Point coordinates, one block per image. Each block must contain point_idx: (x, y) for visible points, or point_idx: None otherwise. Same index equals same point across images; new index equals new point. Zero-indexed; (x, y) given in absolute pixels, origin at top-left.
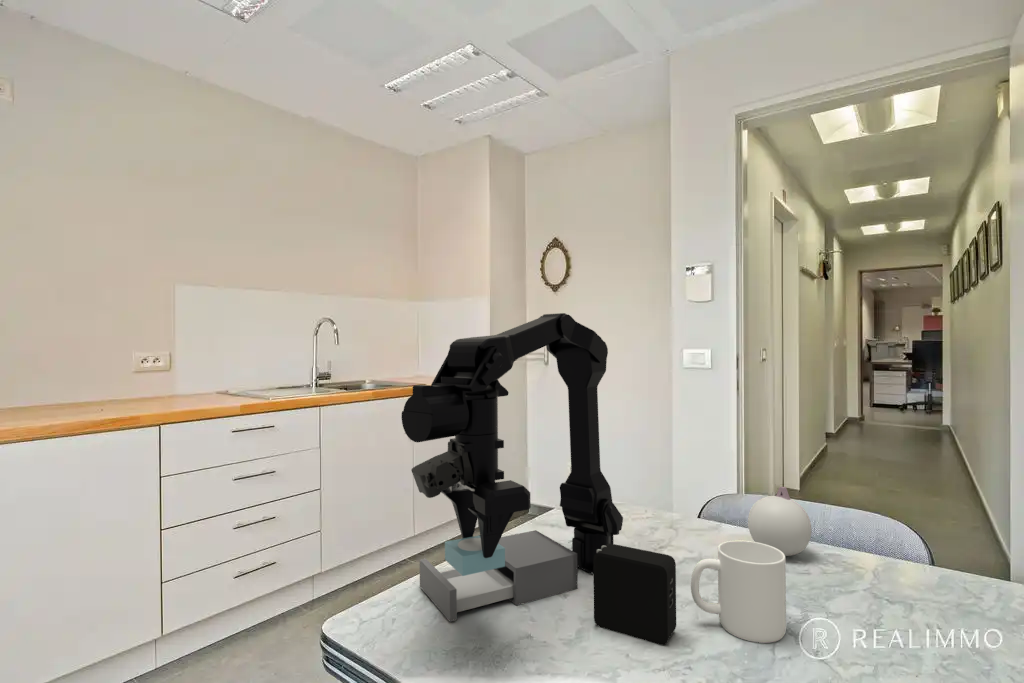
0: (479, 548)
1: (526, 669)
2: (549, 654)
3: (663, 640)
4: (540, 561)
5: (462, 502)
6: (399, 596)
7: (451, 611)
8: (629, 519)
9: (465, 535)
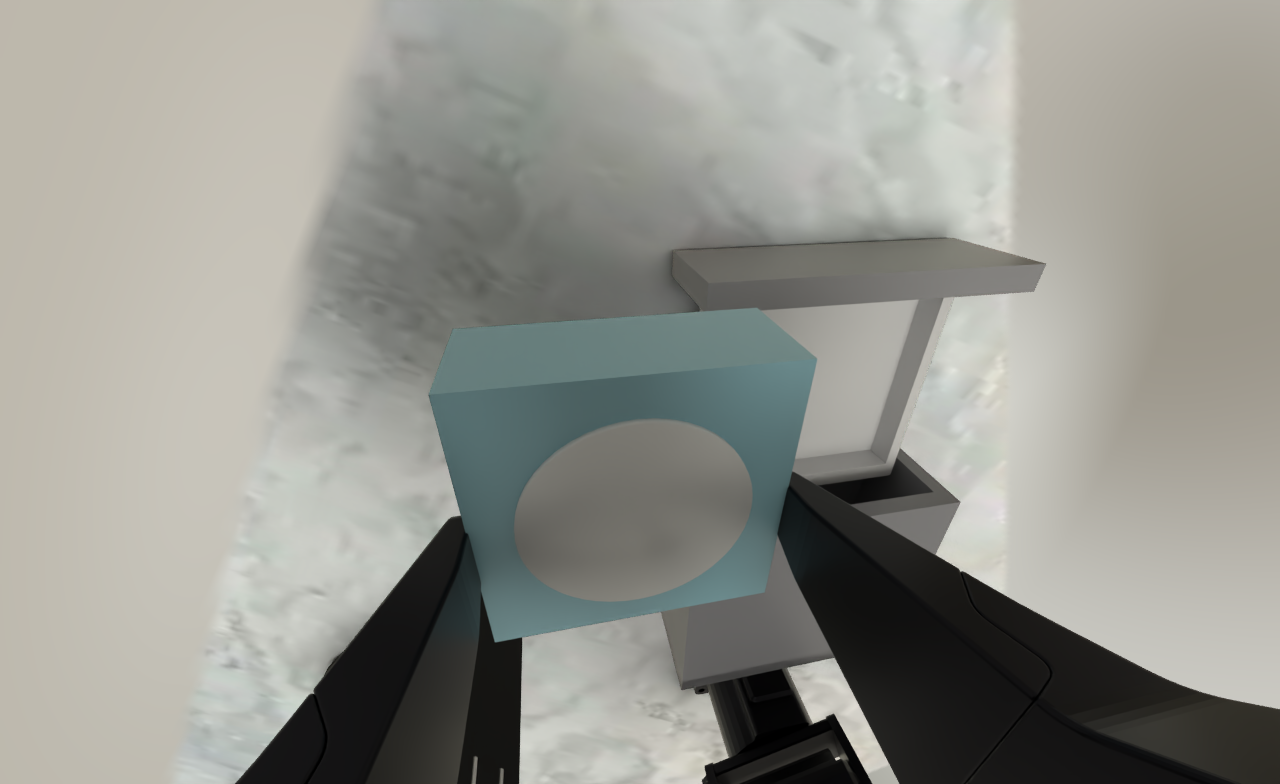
0: (530, 533)
1: (309, 368)
2: (374, 449)
3: (329, 668)
4: (696, 610)
5: (1035, 777)
6: (956, 143)
7: (682, 266)
8: (854, 745)
9: (794, 508)
